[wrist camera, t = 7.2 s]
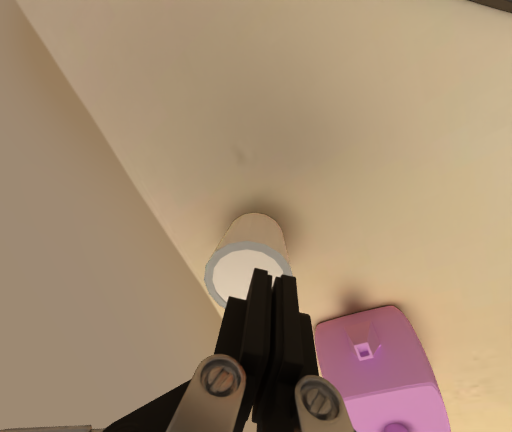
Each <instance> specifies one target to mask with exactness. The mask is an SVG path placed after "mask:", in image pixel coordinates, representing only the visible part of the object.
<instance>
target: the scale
mask: <svg viewBox="0 0 512 432" xmlns="http://www.w3.org/2000/svg"><path fill="white" fill-rule="evenodd" d="M470 1H473V2H477V3H480V4H484V5H487V6H490V7H494V8H497V9H501V10H504V11H507V12H511V13H512V0H470Z"/></svg>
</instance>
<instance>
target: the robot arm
mask: <svg viewBox="0 0 512 432" xmlns="http://www.w3.org/2000/svg"><path fill="white" fill-rule="evenodd" d="M252 406H253V410H252V422H254V423H257V432H356V431H355V429H354V428H353V426H352V423H351V420H350V418H349V415H348V412H347V409H346V406H345V403H344V401H343V398H342V396H341V394H340V393H339V391H338V390H337V389H336V387H335V386H334V385H333V384H331V383H330V382H329V381H328V380H326V379H324V378H322V377H320V376H319V373H318V366H317V359H316V352H315V345H314V339H313V332H312V325H311V319H310V316H309V315H308V314H304V313H300V312H299V306H298V296H297V286H296V278H295V277H293V276H288V275H284V274H282V275H281V277H277V276H276V278H275V280H274V284H273V287H272V275H268V271H267V270H263V269H258V268H254V271H253V275H252V279H251V282H250V286H249V290H248V294H247V298H246V300H244V299H240V298H235V297H231V296H229V297H228V301H227V305H226V308H225V312H224V316H223V320H222V325H221V328H220V332H219V336H218V340H217V344H216V348H215V352H214V355H211V356H209V357H207V358H206V359H204V360H203V361H201V363H200V364H199V366H198V367H197V369H196V371H195V373H194V375H193V377H192V379H191V380H189V381H187V382H185V383H183V384H182V385H180V386H178V387H176V388H175V389H173V390H171V391H169V392H168V393H166V394H164V395H162V396H160V397H159V398H157V399H155V400H153V401H151V402H149V403H148V404H146V405H144V406H142V407H141V408H139V409H137V410H135V411H133V412H132V413H130V414H128V415H126V416H124V417H123V418H121V419H119V420H117V421H115V422H114V423H112V424H111V425H110V426H108V427H107V428H103V429H91V425H84V426H83V425H82V426H58V427H36V428H13V429H5V430H0V432H242V431H243V428H244V425H245V422H246V421H247V420H248V417H249V414H250V412H251V409H252Z"/></svg>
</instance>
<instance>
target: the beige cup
mask: <svg viewBox="0 0 512 432" xmlns="http://www.w3.org/2000/svg"><path fill="white" fill-rule="evenodd" d="M254 268H258V269H263V270H267V271H268V275H272V287H273V284H274V280H275V278H276V276H277V277H281V275H282V274H284V275H288V276H293V275H292V271H291V266H290V262H289V258H288V254H287V249H286V245H285V241H284V237H283V233H282V229H281V228H280V226H279V225H278V224H277V222H276V221H275V220H274V219H272V218H270V217H269V216H267V215H265V214H260V213H249V214H244V215H242V216H240V217H239V218H237V219H235V220H234V221H233V223H232V224H231V226H230V227H229V229H228V230H227V232H226V234H225V235H224V237H223V238H222V240H221V242H220V243H219V245H218V246H217V248H216V250H215V251H214V253H213V255H212V256H211V258H210V259H209V261H208V263H207V264H206V267H205V276H204V281H205V284H206V287H207V290H208V292H209V294H210V295H211V297H212V298H213V299H214V300H215V301H216V302H217V303H218V304H219V305H220V306H222V307H224V308H226V305H227V301H228V297H229V296H231V297H235V298H240V299H244V300H246V298H247V294H248V290H249V286H250V282H251V279H252V275H253V271H254Z"/></svg>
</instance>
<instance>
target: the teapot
mask: <svg viewBox="0 0 512 432" xmlns="http://www.w3.org/2000/svg"><path fill="white" fill-rule="evenodd" d="M315 345H316V351H317V356H318V360H319V365H320V369H321V372H322V376H323V378H324V379H326V380H328V381H329V382H330V383H331V384H333V385H334V386H335V387H336V389H337V390H338V391H339V393H340V394H341V396H342V398H343V401H344V403H345V406H346V409H347V412H348V415H349V418H350V420H351V423H352V426H353V428H354V429H355V431H356V432H451V430H450V424H449V419H448V416H447V412H446V409H445V405H444V402H443V399H442V396H441V393H440V390H439V387H438V384H437V381H436V379H435V376H434V373H433V370H432V368H431V365H430V363H429V361H428V358H427V356H426V354H425V351H424V349H423V347H422V345H421V343H420V341H419V339H418V337H417V335H416V333H415V331H414V329H413V327H412V325H411V324H410V322H409V321H408V319H407V318H406V317H405V315H404V314H403V313H402V312H401V311H400V310H399V309H397V308H396V307H395V306H386V307H380V308H376V309H371V310H367V311H363V312H359V313H355V314H351V315H347V316H343V317H340V318H336V319H333V320H329V321H326V322H323V323H320V324H318V325H317V328H316V332H315Z"/></svg>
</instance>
